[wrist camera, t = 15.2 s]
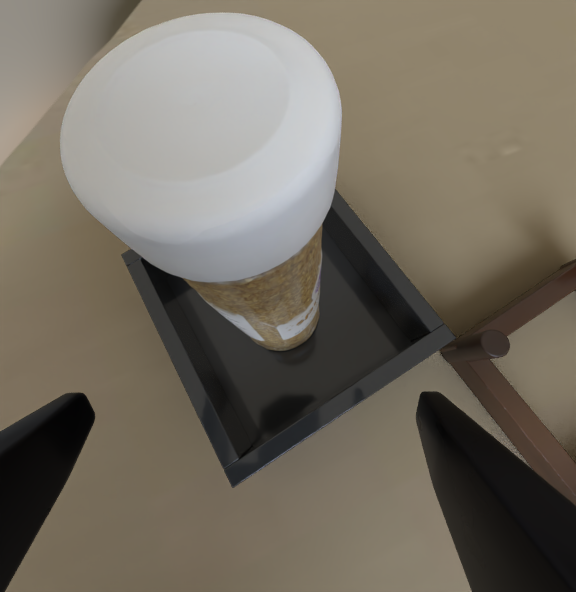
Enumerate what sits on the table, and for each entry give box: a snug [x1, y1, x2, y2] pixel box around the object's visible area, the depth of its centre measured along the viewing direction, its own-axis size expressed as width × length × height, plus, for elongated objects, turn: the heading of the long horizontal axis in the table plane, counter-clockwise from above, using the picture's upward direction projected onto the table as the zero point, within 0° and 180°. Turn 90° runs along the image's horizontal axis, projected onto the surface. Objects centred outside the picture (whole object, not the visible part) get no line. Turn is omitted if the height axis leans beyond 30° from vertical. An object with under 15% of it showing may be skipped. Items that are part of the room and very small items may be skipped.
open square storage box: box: [122, 189, 456, 488], centre depth 16 cm, size 13×12×4 cm
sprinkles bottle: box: [60, 12, 342, 351], centre depth 11 cm, size 5×5×14 cm
